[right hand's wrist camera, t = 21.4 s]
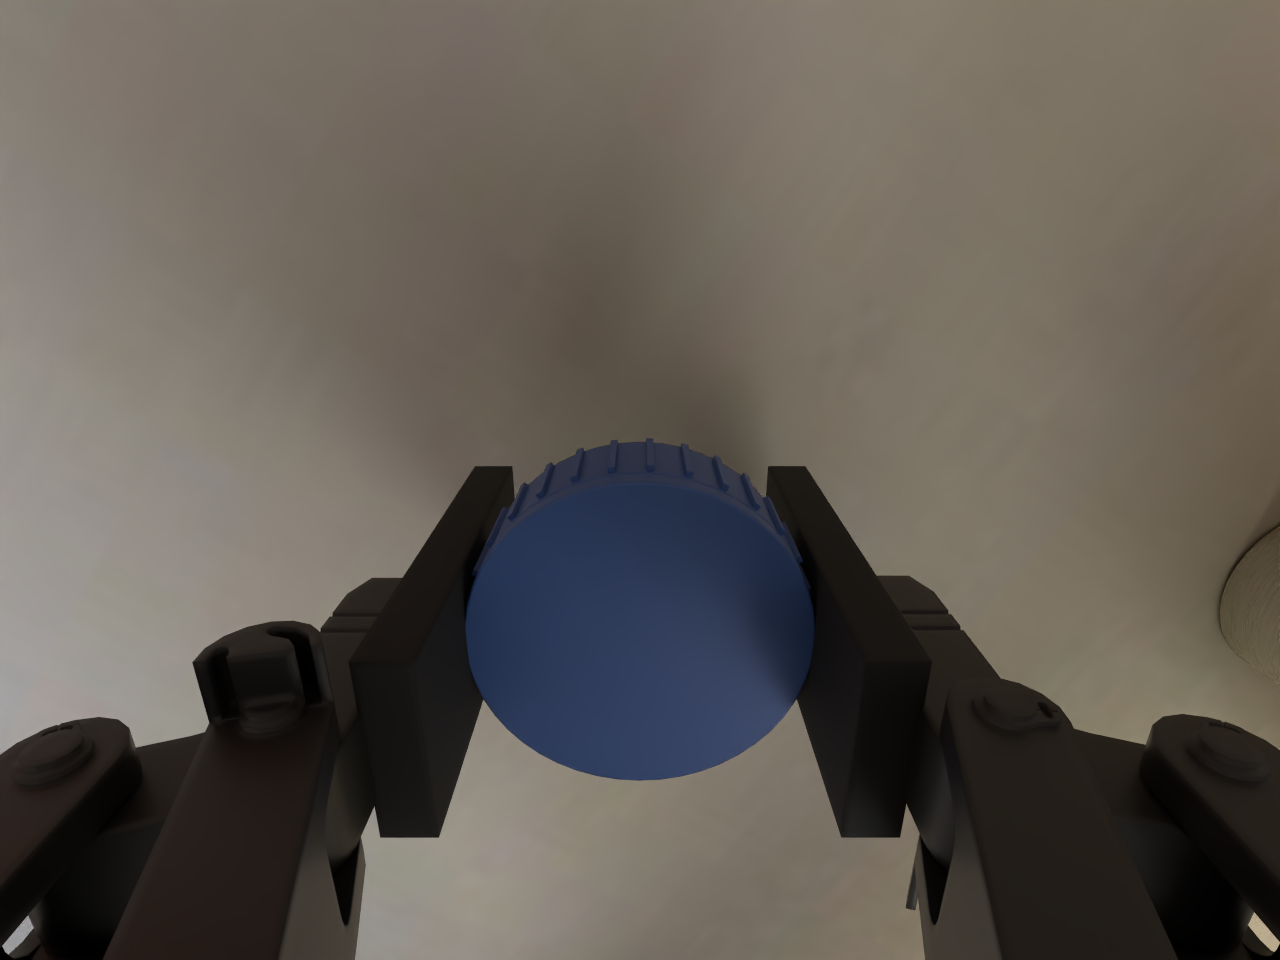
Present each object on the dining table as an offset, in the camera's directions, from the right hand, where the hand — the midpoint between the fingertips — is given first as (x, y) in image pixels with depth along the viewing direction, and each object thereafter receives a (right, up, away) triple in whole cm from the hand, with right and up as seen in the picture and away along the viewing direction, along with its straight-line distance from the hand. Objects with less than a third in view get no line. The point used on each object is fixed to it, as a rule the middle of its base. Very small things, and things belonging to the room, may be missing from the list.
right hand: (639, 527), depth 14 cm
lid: (0, -1, -4) cm, 4 cm away
